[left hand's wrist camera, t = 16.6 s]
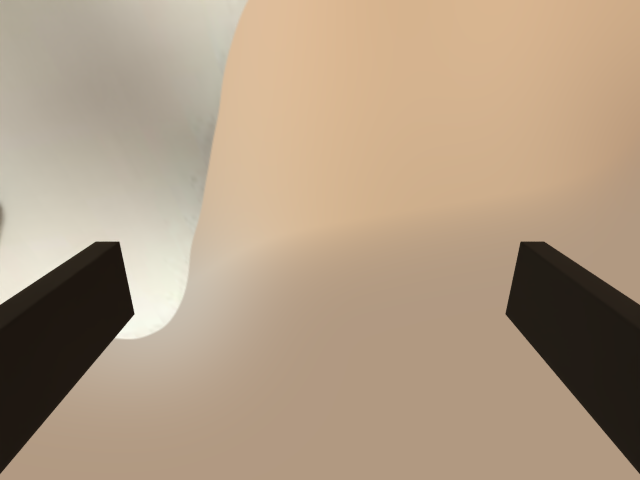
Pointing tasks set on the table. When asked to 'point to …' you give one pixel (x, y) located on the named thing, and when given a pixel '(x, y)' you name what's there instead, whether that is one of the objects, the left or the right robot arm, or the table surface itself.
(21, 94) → the table surface
